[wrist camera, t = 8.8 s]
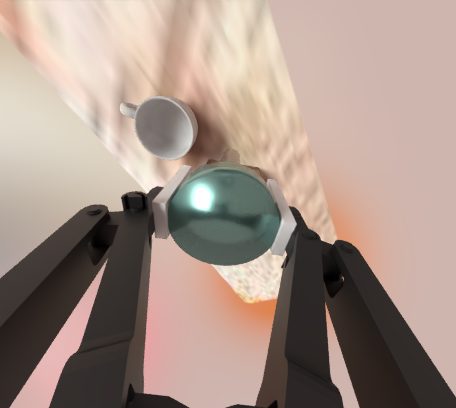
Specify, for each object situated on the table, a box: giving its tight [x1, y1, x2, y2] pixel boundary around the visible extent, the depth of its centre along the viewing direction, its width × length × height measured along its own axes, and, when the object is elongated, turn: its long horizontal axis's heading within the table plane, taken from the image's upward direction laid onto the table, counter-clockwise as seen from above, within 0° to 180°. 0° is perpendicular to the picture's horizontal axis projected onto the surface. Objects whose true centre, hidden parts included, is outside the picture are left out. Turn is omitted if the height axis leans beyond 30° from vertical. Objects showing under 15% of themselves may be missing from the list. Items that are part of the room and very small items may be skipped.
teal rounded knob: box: [168, 149, 280, 266], centre depth 18 cm, size 7×7×15 cm
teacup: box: [120, 96, 198, 160], centre depth 34 cm, size 14×11×8 cm
